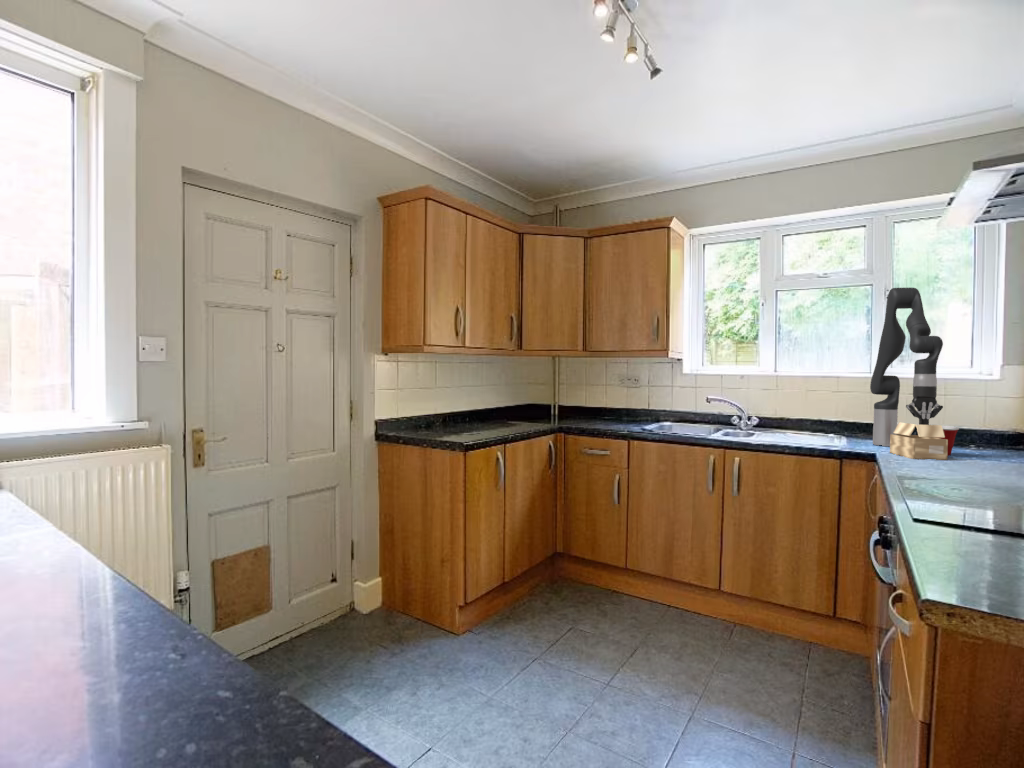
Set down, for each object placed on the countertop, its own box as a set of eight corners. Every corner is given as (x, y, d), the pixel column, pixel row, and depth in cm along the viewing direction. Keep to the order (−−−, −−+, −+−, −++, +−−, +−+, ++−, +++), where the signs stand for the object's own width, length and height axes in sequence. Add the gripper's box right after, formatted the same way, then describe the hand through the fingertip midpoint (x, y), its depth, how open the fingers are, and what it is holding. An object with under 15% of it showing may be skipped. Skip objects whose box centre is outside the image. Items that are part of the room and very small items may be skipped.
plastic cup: (928, 455, 218) (929, 426, 218) (922, 452, 228) (923, 424, 228) (962, 457, 213) (963, 427, 213) (954, 454, 223) (955, 425, 223)
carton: (889, 453, 222) (890, 434, 221) (921, 454, 220) (921, 435, 220) (913, 459, 206) (913, 438, 206) (947, 460, 204) (948, 439, 204)
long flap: (894, 433, 219) (893, 432, 219) (900, 422, 219) (899, 422, 219) (910, 436, 209) (909, 435, 209) (916, 424, 208) (915, 424, 208)
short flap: (918, 436, 206) (919, 436, 205) (915, 424, 208) (916, 424, 207) (944, 437, 204) (944, 437, 204) (941, 425, 206) (941, 425, 206)
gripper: (936, 385, 215) (935, 428, 216) (901, 385, 217) (900, 427, 217) (949, 385, 208) (948, 429, 208) (912, 385, 210) (911, 428, 210)
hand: (923, 428), depth 213 cm, fingers closed
